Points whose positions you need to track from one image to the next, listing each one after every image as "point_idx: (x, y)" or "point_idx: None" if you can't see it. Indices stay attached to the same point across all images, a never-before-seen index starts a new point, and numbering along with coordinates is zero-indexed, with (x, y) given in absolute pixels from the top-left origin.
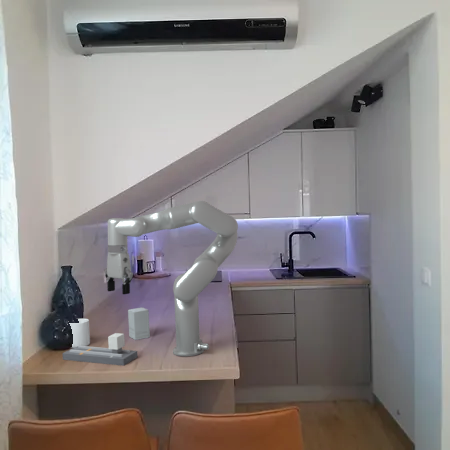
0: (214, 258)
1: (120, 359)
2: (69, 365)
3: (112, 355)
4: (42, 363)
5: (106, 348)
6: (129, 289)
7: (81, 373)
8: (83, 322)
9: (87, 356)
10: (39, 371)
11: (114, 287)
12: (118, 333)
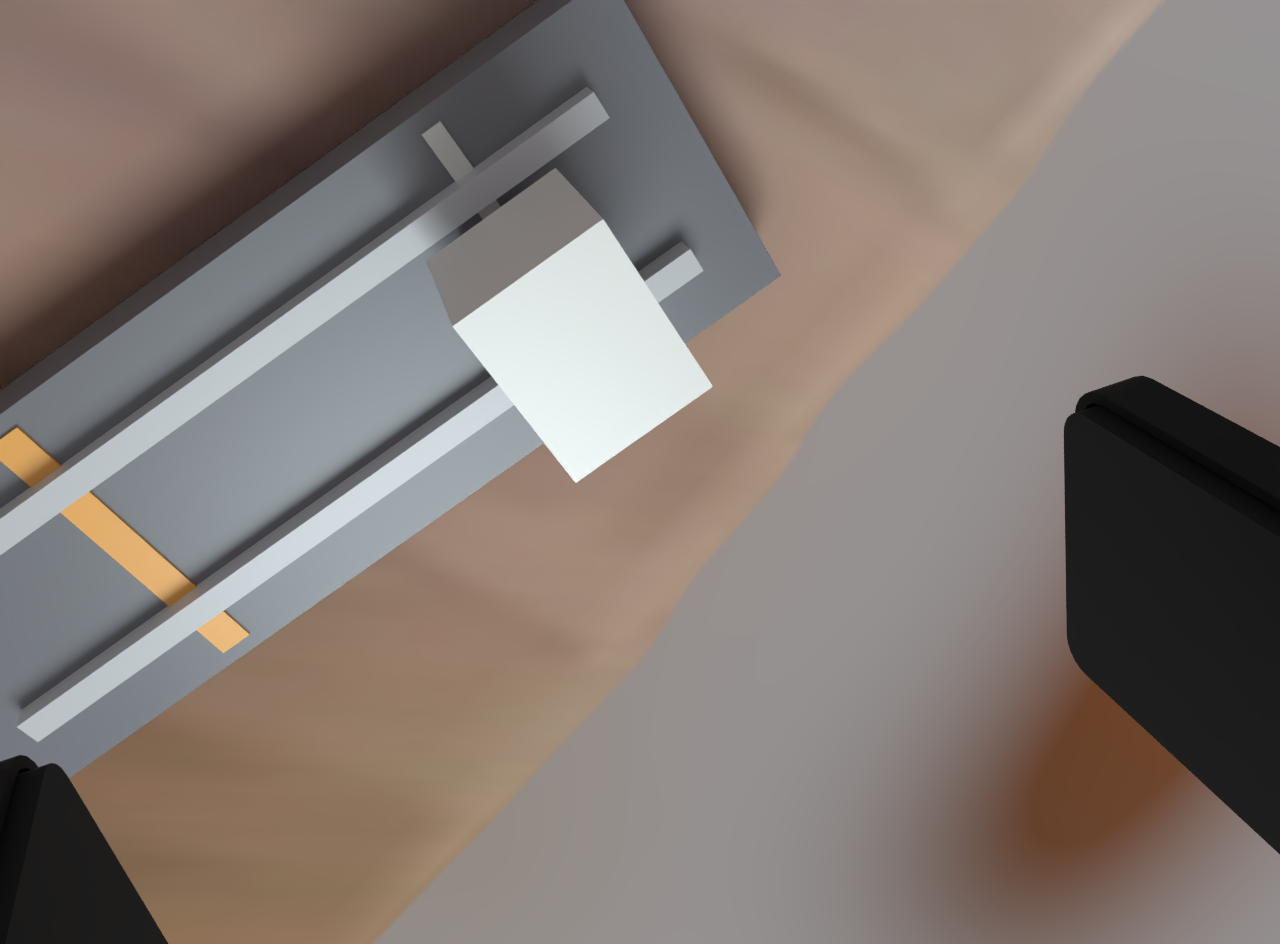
0: None
1: (743, 296)
2: (327, 707)
3: None
4: None
5: (280, 341)
6: (1249, 450)
7: (649, 647)
8: None
9: (349, 575)
10: (324, 929)
11: (37, 874)
12: (513, 292)
